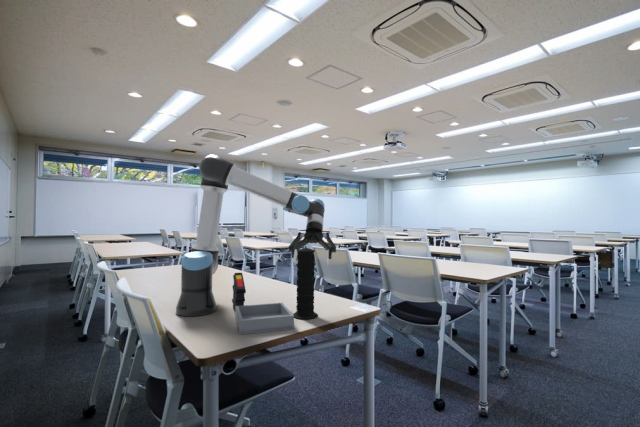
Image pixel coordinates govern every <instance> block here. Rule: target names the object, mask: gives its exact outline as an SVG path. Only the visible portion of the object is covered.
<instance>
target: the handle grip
mask: <svg viewBox="0 0 640 427" xmlns="http://www.w3.org/2000/svg"><path fill="white" fill-rule="evenodd" d="M315 252H316V250H315V249H311V248H308V247H304V248H303V247H302V248H300V249H299V250H297V259H296V267H297V268H296V270H297V271H296V276H297V277H296V312H294V313H292V314H293V315H294V320H295V319H297V320H301V321H304V320H305V321H309V320H313V319H317V318H318V317H319V314H318V313H317V312H315V310H314V309H315V302H314V301H315V285H314V284H315V270H316V269H315V255H316V254H315Z"/></svg>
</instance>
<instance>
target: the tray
mask: <svg viewBox="0 0 640 427" xmlns="http://www.w3.org/2000/svg"><path fill="white" fill-rule="evenodd" d="M234 312H235V313H234V317H235V322H236V326H237V330H238V332H239V335H249V334H257V333H258V334H259V333H269V332H277V331H287V330H294V329H295V318H294V315H293V314H294V313H292V311H291V310H290V309H289V308H288V306H286V305H285V304H284V302H272V303H271V302H270V303H258V304H246V305H245V304H244V306H235V311H234Z"/></svg>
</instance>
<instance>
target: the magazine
mask: <svg viewBox="0 0 640 427" xmlns="http://www.w3.org/2000/svg"><path fill="white" fill-rule="evenodd" d="M232 277H233V285H232V291H233V292H232V293H233V294H232V298H231V302H232V308H233V311H234V312H235V306H244V305H245V301H246V299H245V294H246V293H247V291H246V290H247V289H246V286H245V280H244V276H243V272H235V273H234V274H233V275H232Z"/></svg>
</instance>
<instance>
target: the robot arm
mask: <svg viewBox="0 0 640 427" xmlns="http://www.w3.org/2000/svg"><path fill="white" fill-rule="evenodd" d="M199 173H200V175H201V181H200V187H201V188H202V190H203V193H202V199H201V207H200V213H199V214H200V215H199V220H198V227H197V233H196V241H195V244H194V245H192V246H191V250H190V252H186V253H184V254H183V255H182V256H181V261H180V266H181V277H180V278H181V280H180V281H181V283H180V284H181V285H180V290H181V291H180V296H179V298H178V300H177V303H176V306H175V314H176V315H178V316H180V315H181V316H183V317H200V316H204V315H205V316H207V315H209V314H212V313H214V312H216V311H217V303H216V300H215V296H214V293H213V275H214V274H215V273H216V271H217V270H218V267H219V260H218V259H219V251H220V249H219V248H218V247H217V241H218V233H219V228H220V227H219V226H220V221H221V220H220V219H221V212H222V207H223V201H224V200H223V199H224V193H226V192H227V191H228V189H229V188H228V187H229V185H231V186H233V187H236V188H238V189H240V190H243V191H245V192H247V193H250V194H252V195H254V196H257V197H258V198H260V199H264V200H266V201H268V202H270V203H272V204H275V205H277V206H280V207H282V208H283V209H282V210H284V211H285V212H288V213H291V214H296V215H299V216H302V217H306V227H305V233H302V232H301V231H300V232H298V233H297V236H296V237H295V238H294V239H293V240H292V242H291V243H290V245H288V248H287V249H288V252H291V259H292V264H293V266H294V267H295V266H297V260H298V259H297V254H298V252H297V250H300V249H303V247H304V246H306V245H309V244H317V243H318V244H319V246H321V247H323V249H325V251H326V259H325V260H326V267H329V263H330V261H329V260H332V257H333V256H332V254H333V253H337V247H336V245H335V244H334V242H333V240H332V239H331V237H330V233H329V232H326V233H324V232H323V230H324V218H325V217H324V216H325V203H324V201H323V200H321V199H319V198H313V199H311V200H309V199H308V197H306V196H305V195H303V194H298V193H296V192H293V191H291V190H289V189H287V188H284V187H282V186H280V185H277V184H275V183H273V182H270V181H269V180H267V179H264V178H261V177H260V176H257V175H254V174H252V173H250V172H248V171H246V170H243V169H241V168H239V167H237V164H236V163H233V162H231V161H229V160H227V159H225V158H223V157H222V156H220V155H217V154H209V155H206V156H204V157H203V159H201V161H200V163H199ZM323 238H324V239H325V240H326V241H327V242H326V241H325V240H323ZM181 316H180V317H181Z"/></svg>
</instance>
